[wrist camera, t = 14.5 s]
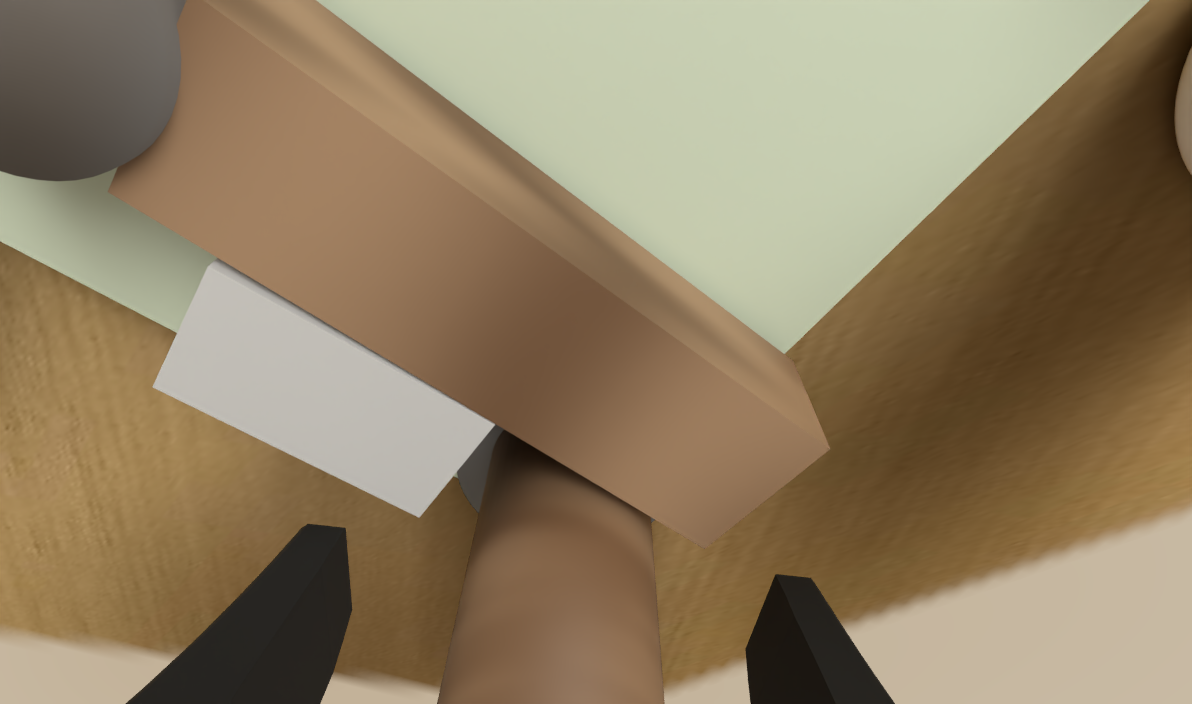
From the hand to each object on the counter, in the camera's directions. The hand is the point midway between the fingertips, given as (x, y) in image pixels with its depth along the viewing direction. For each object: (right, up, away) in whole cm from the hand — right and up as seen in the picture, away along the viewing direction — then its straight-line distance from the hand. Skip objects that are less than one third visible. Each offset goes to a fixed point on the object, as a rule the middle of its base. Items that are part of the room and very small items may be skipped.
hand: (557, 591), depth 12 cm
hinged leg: (-2, +7, -1) cm, 7 cm away
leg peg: (0, +2, +2) cm, 3 cm away
